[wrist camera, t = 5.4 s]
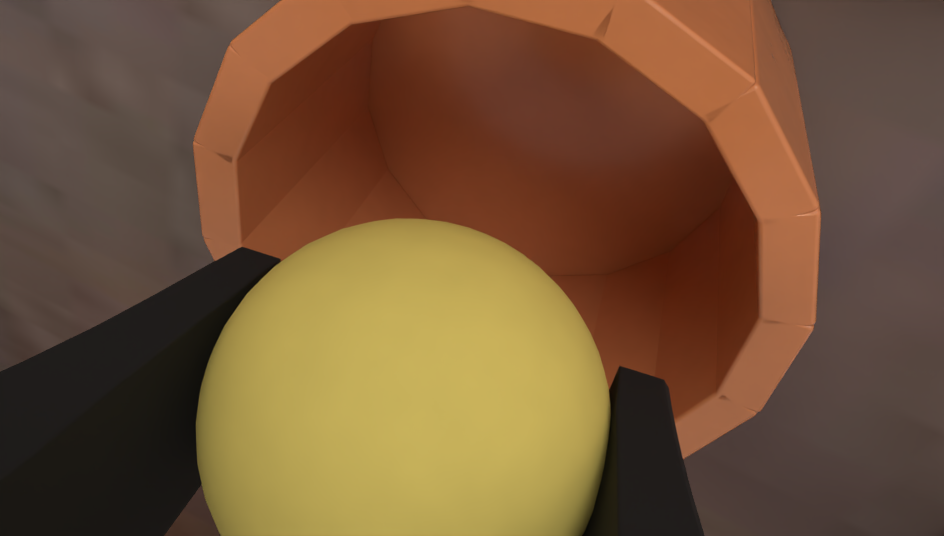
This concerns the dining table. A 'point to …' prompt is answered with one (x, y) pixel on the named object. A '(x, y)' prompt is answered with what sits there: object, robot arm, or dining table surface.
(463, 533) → the ball
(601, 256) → the orange pot
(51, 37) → the dining table surface
